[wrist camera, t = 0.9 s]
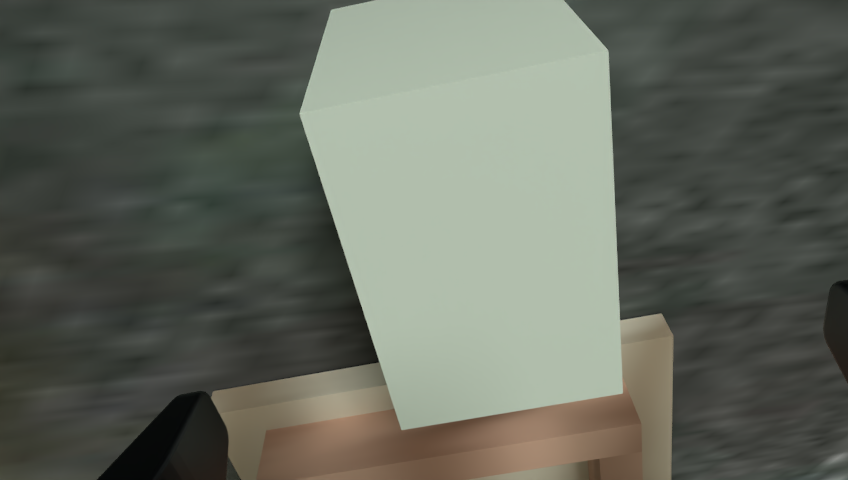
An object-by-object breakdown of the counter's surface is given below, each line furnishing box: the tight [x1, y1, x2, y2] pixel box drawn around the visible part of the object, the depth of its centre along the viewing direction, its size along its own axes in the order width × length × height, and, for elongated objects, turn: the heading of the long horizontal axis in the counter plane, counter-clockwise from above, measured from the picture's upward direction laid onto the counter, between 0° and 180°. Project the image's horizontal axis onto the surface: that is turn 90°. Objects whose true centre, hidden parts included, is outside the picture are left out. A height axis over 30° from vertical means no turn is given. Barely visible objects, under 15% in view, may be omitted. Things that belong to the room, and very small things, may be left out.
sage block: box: [300, 0, 623, 430], centre depth 14 cm, size 4×7×6 cm, turn 11°
